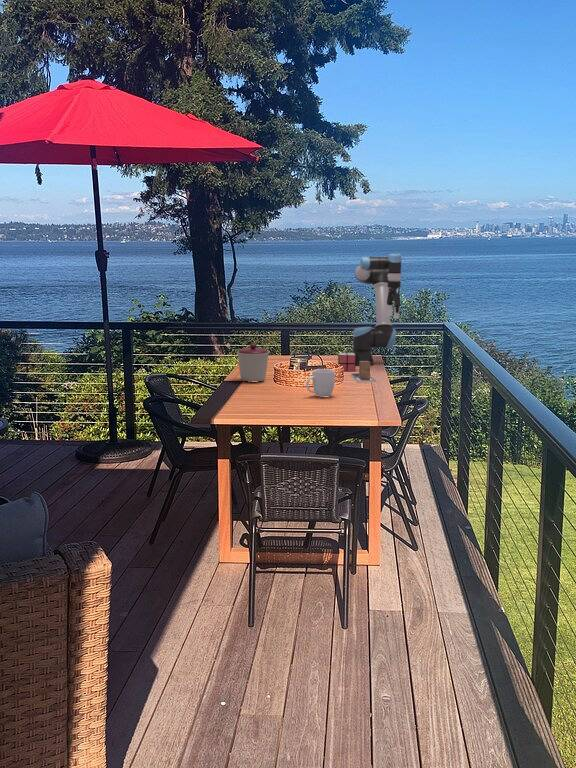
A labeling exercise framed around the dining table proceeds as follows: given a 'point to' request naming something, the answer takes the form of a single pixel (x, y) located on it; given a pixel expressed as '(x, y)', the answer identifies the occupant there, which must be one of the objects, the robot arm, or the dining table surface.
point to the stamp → (364, 370)
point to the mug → (322, 382)
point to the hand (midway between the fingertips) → (393, 317)
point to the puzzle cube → (347, 361)
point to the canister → (253, 363)
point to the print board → (364, 380)
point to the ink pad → (354, 375)
